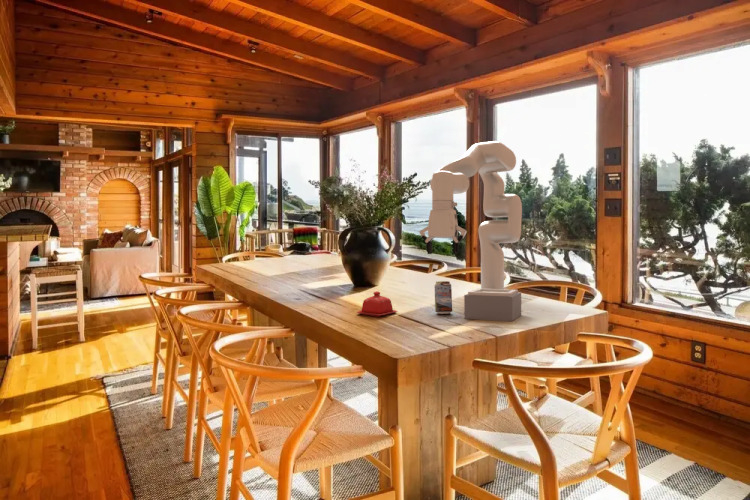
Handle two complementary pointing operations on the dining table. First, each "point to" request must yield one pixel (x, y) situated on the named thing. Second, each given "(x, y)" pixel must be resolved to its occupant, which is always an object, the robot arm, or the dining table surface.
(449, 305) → the beverage can
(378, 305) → the butter dish
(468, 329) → the dining table surface
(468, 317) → the stand
